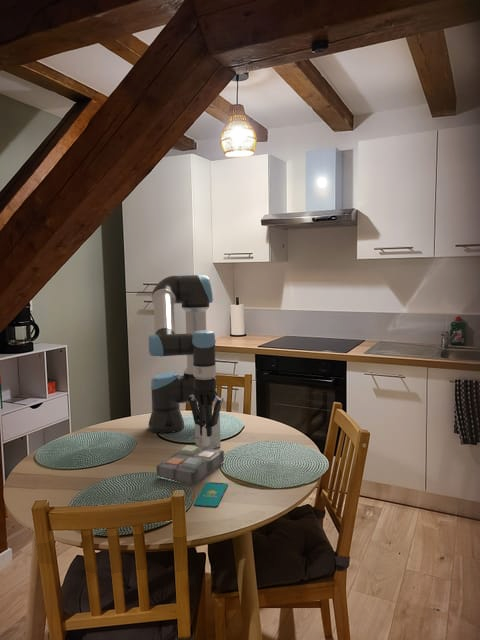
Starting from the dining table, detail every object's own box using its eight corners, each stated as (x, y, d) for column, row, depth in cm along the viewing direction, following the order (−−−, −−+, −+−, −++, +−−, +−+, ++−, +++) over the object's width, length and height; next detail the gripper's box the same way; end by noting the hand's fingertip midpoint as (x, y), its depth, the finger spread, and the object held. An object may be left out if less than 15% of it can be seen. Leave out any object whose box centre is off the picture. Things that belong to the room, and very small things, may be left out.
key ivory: (198, 463, 163) (197, 455, 163) (204, 459, 167) (204, 450, 167) (209, 465, 161) (209, 457, 161) (215, 461, 165) (215, 452, 165)
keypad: (156, 478, 155) (156, 466, 155) (189, 456, 173) (189, 445, 173) (194, 486, 150) (194, 473, 149) (223, 462, 167) (223, 450, 167)
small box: (221, 446, 183) (220, 413, 181) (207, 451, 179) (206, 416, 177) (208, 441, 189) (207, 408, 188) (195, 445, 185) (194, 412, 184)
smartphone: (192, 504, 137) (205, 481, 152) (192, 507, 137) (205, 483, 152) (217, 506, 136) (228, 483, 150) (217, 509, 136) (228, 485, 150)
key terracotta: (166, 471, 158) (166, 462, 157) (173, 466, 162) (173, 457, 161) (177, 473, 156) (177, 464, 155) (184, 468, 160) (184, 459, 159)
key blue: (183, 471, 155) (183, 462, 154) (190, 466, 159) (190, 457, 158) (195, 473, 153) (194, 464, 152) (202, 468, 157) (201, 459, 156)
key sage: (181, 457, 166) (181, 449, 165) (188, 453, 170) (187, 445, 169) (192, 459, 164) (192, 451, 164) (198, 455, 168) (198, 446, 167)
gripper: (182, 377, 160) (184, 446, 163) (216, 381, 155) (218, 451, 158) (193, 373, 167) (195, 438, 170) (227, 376, 162) (228, 444, 164)
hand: (206, 444), depth 164 cm, fingers closed
